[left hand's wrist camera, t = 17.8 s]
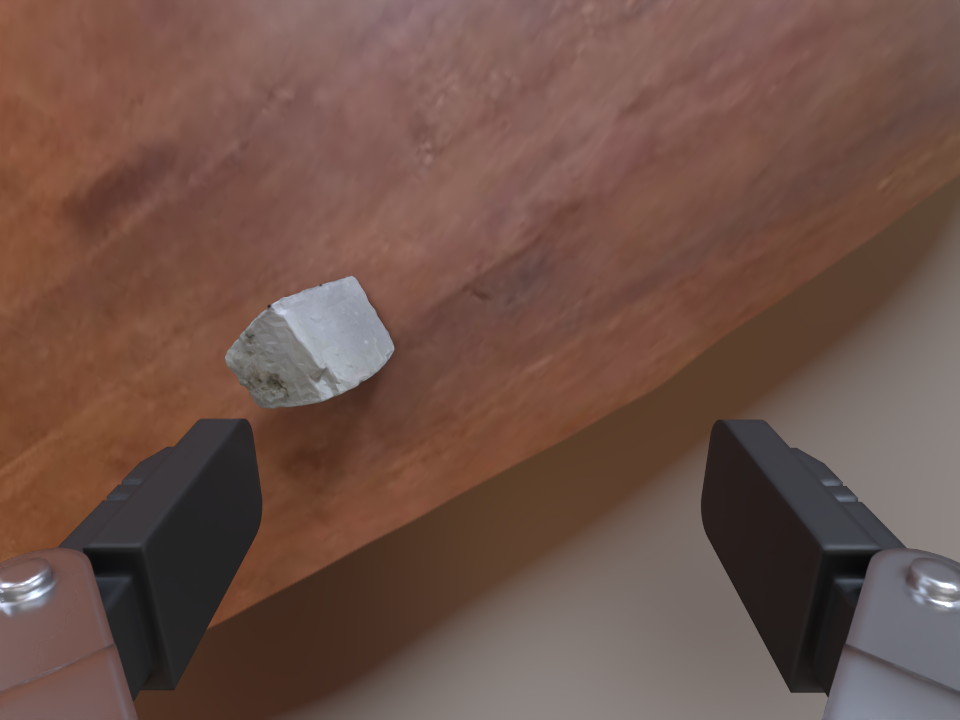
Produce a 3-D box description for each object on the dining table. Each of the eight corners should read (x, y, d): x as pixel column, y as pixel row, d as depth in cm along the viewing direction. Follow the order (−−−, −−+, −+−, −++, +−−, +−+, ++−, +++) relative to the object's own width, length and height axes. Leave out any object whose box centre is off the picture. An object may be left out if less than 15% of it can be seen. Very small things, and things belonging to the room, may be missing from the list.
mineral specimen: (315, 232, 39) (305, 285, 32) (404, 331, 43) (411, 397, 36) (224, 301, 40) (194, 367, 33) (319, 391, 44) (310, 466, 37)
